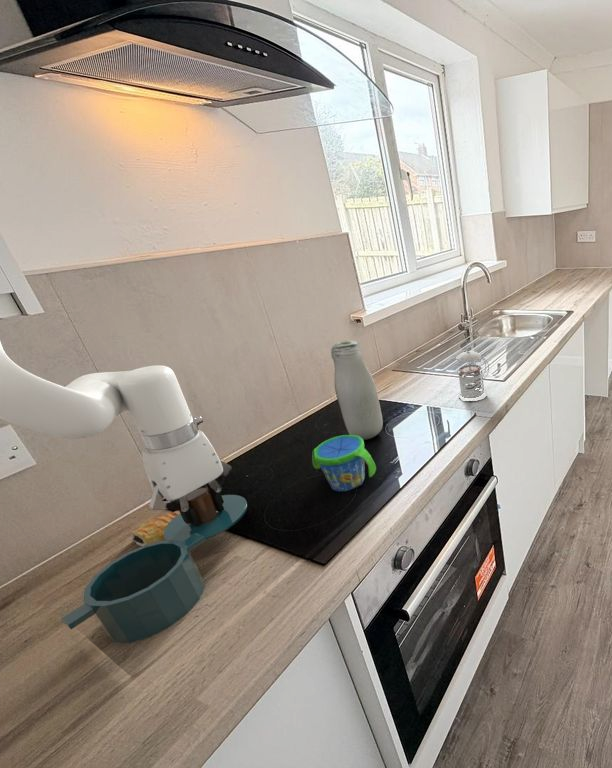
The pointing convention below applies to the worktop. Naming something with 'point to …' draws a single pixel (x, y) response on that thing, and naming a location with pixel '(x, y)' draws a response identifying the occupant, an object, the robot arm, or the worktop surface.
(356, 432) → the glass bottle
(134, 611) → the pot
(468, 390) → the french press
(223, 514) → the lid
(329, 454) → the snack cup
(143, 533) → the pastry
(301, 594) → the worktop surface
